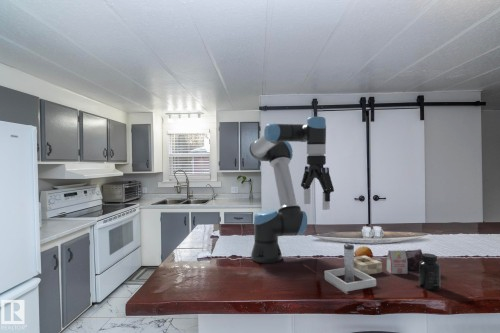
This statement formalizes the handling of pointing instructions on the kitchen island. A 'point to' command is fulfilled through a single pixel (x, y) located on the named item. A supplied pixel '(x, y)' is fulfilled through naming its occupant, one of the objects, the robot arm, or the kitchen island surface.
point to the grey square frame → (343, 286)
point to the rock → (413, 259)
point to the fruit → (363, 252)
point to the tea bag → (397, 262)
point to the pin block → (367, 265)
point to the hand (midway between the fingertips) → (316, 206)
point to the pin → (349, 263)
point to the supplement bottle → (429, 272)
